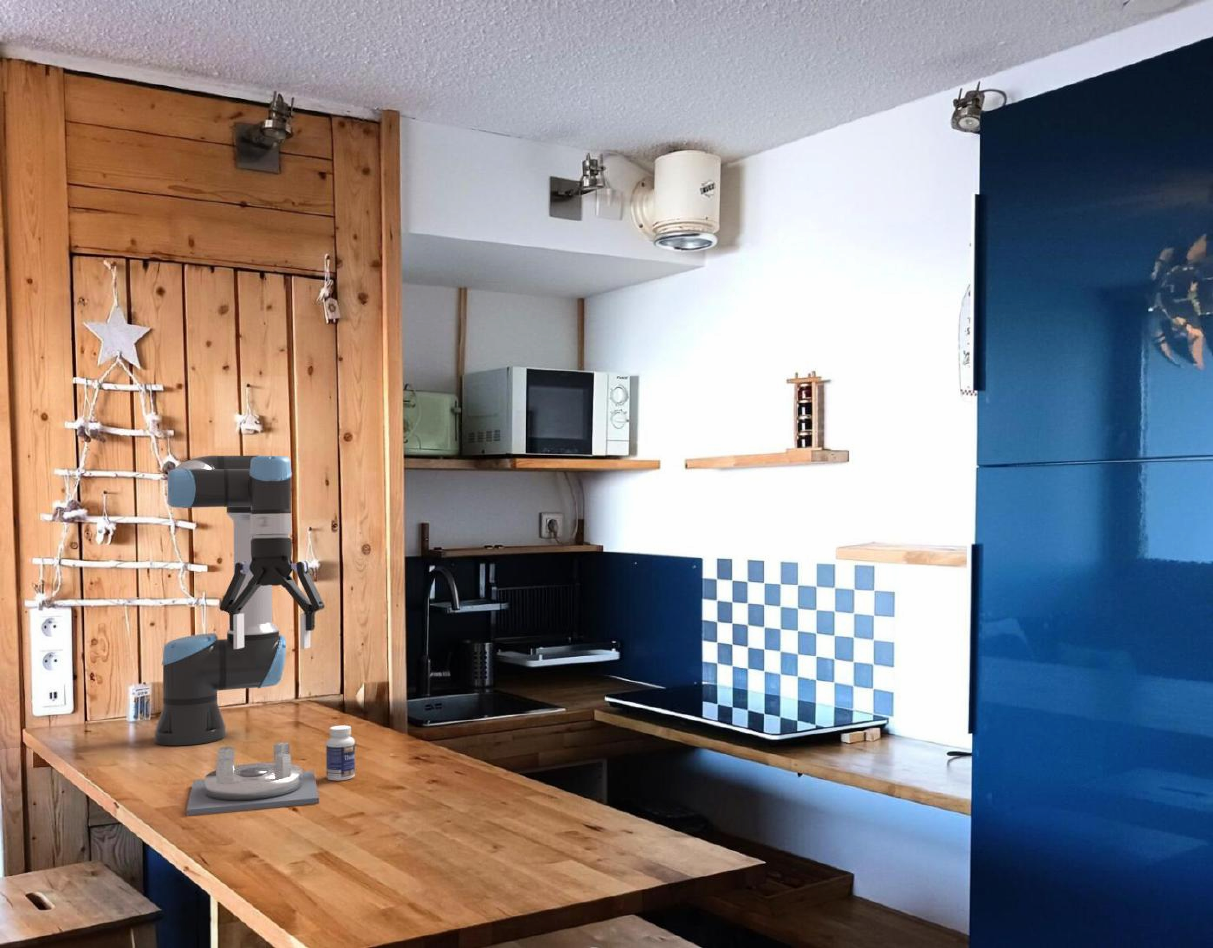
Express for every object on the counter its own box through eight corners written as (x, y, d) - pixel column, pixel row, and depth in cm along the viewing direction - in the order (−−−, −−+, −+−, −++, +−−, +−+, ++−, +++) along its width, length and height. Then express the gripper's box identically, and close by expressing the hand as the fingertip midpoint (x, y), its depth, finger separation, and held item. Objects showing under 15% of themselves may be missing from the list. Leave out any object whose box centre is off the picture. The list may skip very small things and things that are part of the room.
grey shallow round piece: (184, 793, 198) (184, 757, 198) (254, 772, 213) (254, 738, 213) (253, 804, 190) (253, 766, 190) (321, 781, 205) (321, 746, 205)
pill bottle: (347, 781, 210) (347, 730, 210) (321, 780, 211) (321, 729, 211) (359, 774, 215) (359, 724, 215) (334, 773, 216) (333, 724, 217)
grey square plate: (193, 786, 208) (193, 779, 208) (313, 775, 215) (313, 769, 215) (186, 815, 188) (186, 808, 188) (319, 803, 195) (319, 796, 195)
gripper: (200, 538, 209) (201, 650, 208) (324, 536, 204) (325, 650, 204) (220, 537, 216) (221, 645, 215) (340, 535, 212) (342, 645, 211)
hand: (272, 648), depth 209 cm, fingers open, 13 cm apart
